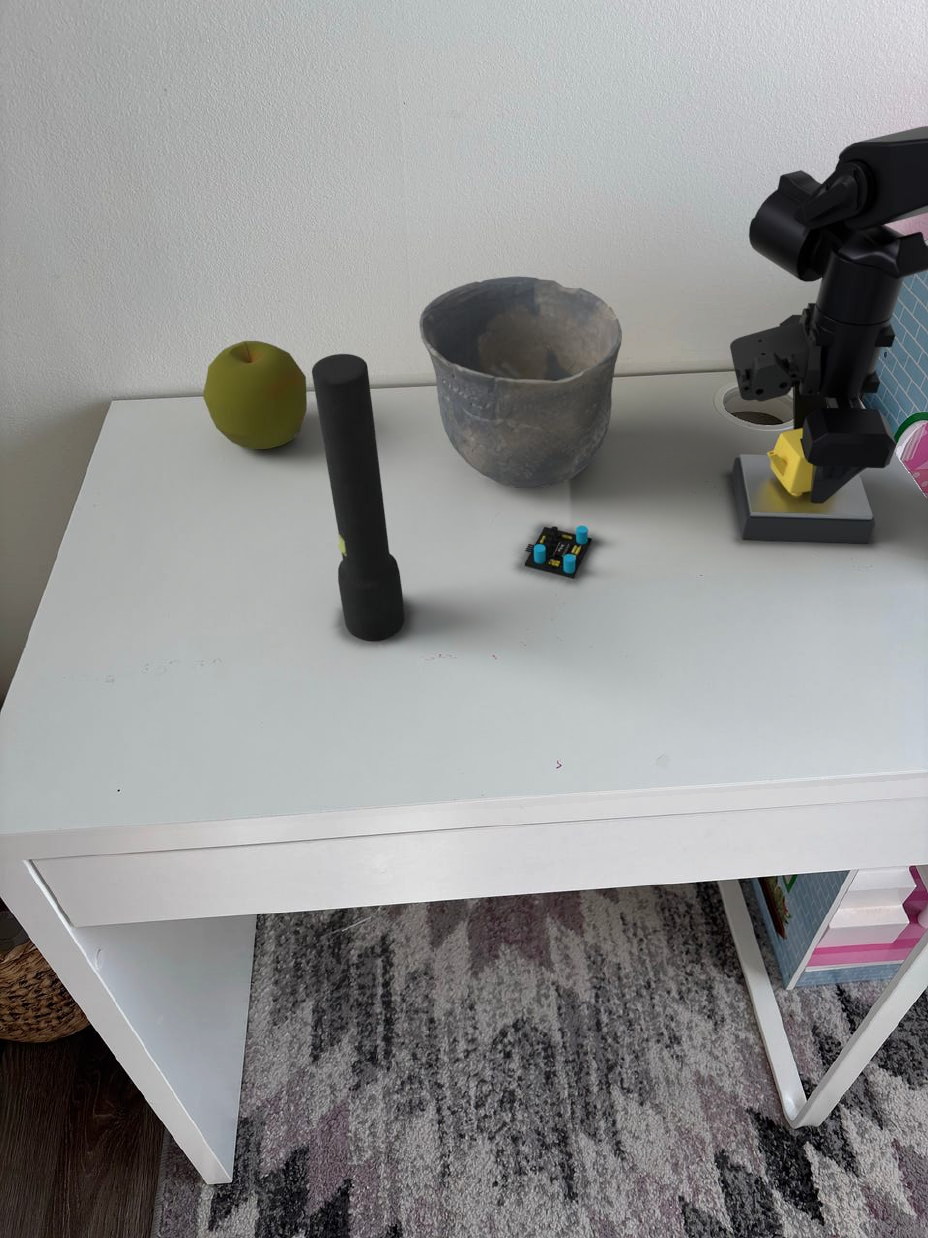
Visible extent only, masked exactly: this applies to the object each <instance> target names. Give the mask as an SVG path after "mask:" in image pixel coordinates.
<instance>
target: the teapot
mask: <svg viewBox="0 0 928 1238" xmlns="http://www.w3.org/2000/svg"><path fill="white" fill-rule="evenodd" d="M802 434H803V428H801V429H796V430H793V429H792V430H787V431H784V432H781V433H780V434H779V436H778V438H777V441H776V443H775V446H774V448H773V450H771V451H768V452H767V453H766V455H768V456H769V457H770V459H771V469H772V470H773V472H774V473H775V475H776V476H777V478H778V479H779V480H780V482H781V483H782V484H783V486H784V487H785V488H786V489H787V491H788V492H789V493H791V494H792V495H794V496H800V495H802V492H807V491H811V479H812V468H813V465H812V464H810V463H809V462H807V460H806V459H805V456H804V453H803V449H802V445H801V441H800V438H802Z"/></svg>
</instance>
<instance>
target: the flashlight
mask: <svg viewBox="0 0 928 1238" xmlns="http://www.w3.org/2000/svg"><path fill="white" fill-rule="evenodd" d="M311 375H312V383H313V388H314V393H315V399H316V405H317V411H318V412H317V413H318V417H319V424H320V430H321V437H322V442H323V448H324V449H323V450H324V455H325V460H326V467H327V473H328V478H329V485H330V490H331V496H332V503H333V509H334V515H335V521H336V526H337V531H338V532H337V533H338V534H337V535H338V542H339V543H338V549H339V551H340V552H341V557H342V560H341V561H340V563H339V565H338V569H337V582H338V588H339V595H340V601H341V607H342V612H343V613H342V614H343V618H344V619H343V620H344V624H345V627H346V629H347V630H348V632H349V633H350V634H351V635H352V636H354V637H355V638H357V639H360V640H363V641H369V642H374V641H375V642H376V641H382V640H386V639H388V638H390V637H392V636H393V635H396V634H397V633H398V632H399V631H400V630H401V628H402V627H403V626H404V623H405V620H406V614H405V606H404V596H403V587H402V580H401V572H400V568H399V564H398V561H397V559H396V557H394V556H393V555H392V554H391V553H390V547H389V539H388V531H387V530H388V529H387V520H386V514H385V513H386V512H385V505H384V495H383V487H382V479H381V470H380V461H379V453H378V445H377V435H376V427H375V418H374V410H373V403H372V395H371V393H372V392H371V386H370V375H369V367H368V363H367V361H365V359H363V358H362V357H361V356H358V355H355V354H351V353H336V354H331V355H327V356H325V357H323V358H321V359H319V360H318V361H317V362H315V364H313V367H312V369H311Z"/></svg>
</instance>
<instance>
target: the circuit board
mask: <svg viewBox="0 0 928 1238" xmlns="http://www.w3.org/2000/svg"><path fill="white" fill-rule="evenodd" d="M575 530H576V532H575V533H571V532H568V531H564V530H560V529H559V528H558V527H557V526H551V527H547V526H544V527H543V529H542V531H541V532H540V535H538V538H537V540H536V542H535V543H534V544H532V543H528V544H527V546H526V548H525V549H524V552H527V553H529V555H528V556H527V558H526V560H525V562H524V567H527V568H530V569H531V568H532V569H535V570H539V571H543V572H547V573H551V574H554V575H559V576H562V577H566V578H569V579H573V580H574V579H575V577H576V575H577V572H578V571H579V569H580V566H581V564H582V562H583V560H584V558H585V556H586V554H587V552H588V549H589V548H590V547H591V543H592V541H593V538H591V537H589V535H588V533H589V529H588V527H587V526H586V525H578V526H577V527H576V529H575Z"/></svg>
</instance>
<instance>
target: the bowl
mask: <svg viewBox="0 0 928 1238" xmlns="http://www.w3.org/2000/svg"><path fill="white" fill-rule="evenodd" d="M620 323H621V322H620V321H619V318H618V317H617V315H616V314H615V312H614V310H613V308H612V307H611V306H609V305H608V303H606V302H605V301H604V300H603V299H602V298H601V297H599V296H597V294H594V293H593V292H590V291H588V290H586V289H584V288H582V287H576V288H574V287H567V286H563V285H562V284H560V283H559V282H557V281H556V280H553V279H542V278H538V277H530V276H517V275H516V276H507V277H506V276H505V277H497V278H489V279H484V280H482V281H473V282H469V283H465V284H463V285H460V286H457V287H455V288H453V289H450V290H449V291H446V292H444V293H441V294H440V295H439V296H437V297H435V298H434V299H432V300H431V301H430V302H429V303H428V304H427V305H426V306H425V307H424V309H423V311H422V312H421V314H420V316H419V321H418V324H419V327H418V328H419V334H420V335H419V336H420V339H421V342H423V344H424V346H425V348H426V351H427V352H428V354H429V357H430V360H431V363H432V366H433V370H434V374H435V379H436V391H437V401H438V402H437V403H438V406H439V415H440V418H441V422H442V426H443V428H444V431H445V433H446V435H447V437H448V440H449V441H450V443H451V445H452V447H453V449H455V451H456V453H458V454H459V455H460V457H461V458H462V459H463V460H464V461H465V462H466V463H467V464H468V465H469V466H470V467H471V468H473V469H474V470H475V471H477V472H478V473H480V474H481V475H483V476H484V477H487V478H489V479H491V480H492V481H495V482H497V483H499V484H501V485H505V486H508V487H514V488H518V489H537V488H539V489H540V488H544V487H549V486H554V485H556V484H561V483H563V482H566V481H568V480H570V479H572V478H573V477H575V476H576V475H578V474H579V473H580V472H582V470H584V469H585V468H586V467H587V466H588V465H589V464H590V463H591V462H592V461H593V460H594V458H595V457H596V455H597V454H598V452H599V451H600V450H601V448H602V446H603V444H604V442H605V440H606V436H607V434H608V429H609V426H610V425H609V424H610V421H611V414H612V405H613V404H612V403H613V402H612V401H613V399H612V392H613V391H612V390H613V389H612V388H613V382H614V375H615V369H616V364H617V360H618V356H619V352H620V349H621V346H622V341H623V340H622V337H623V336H622V335H623V332H622V327H621V324H620Z"/></svg>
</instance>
